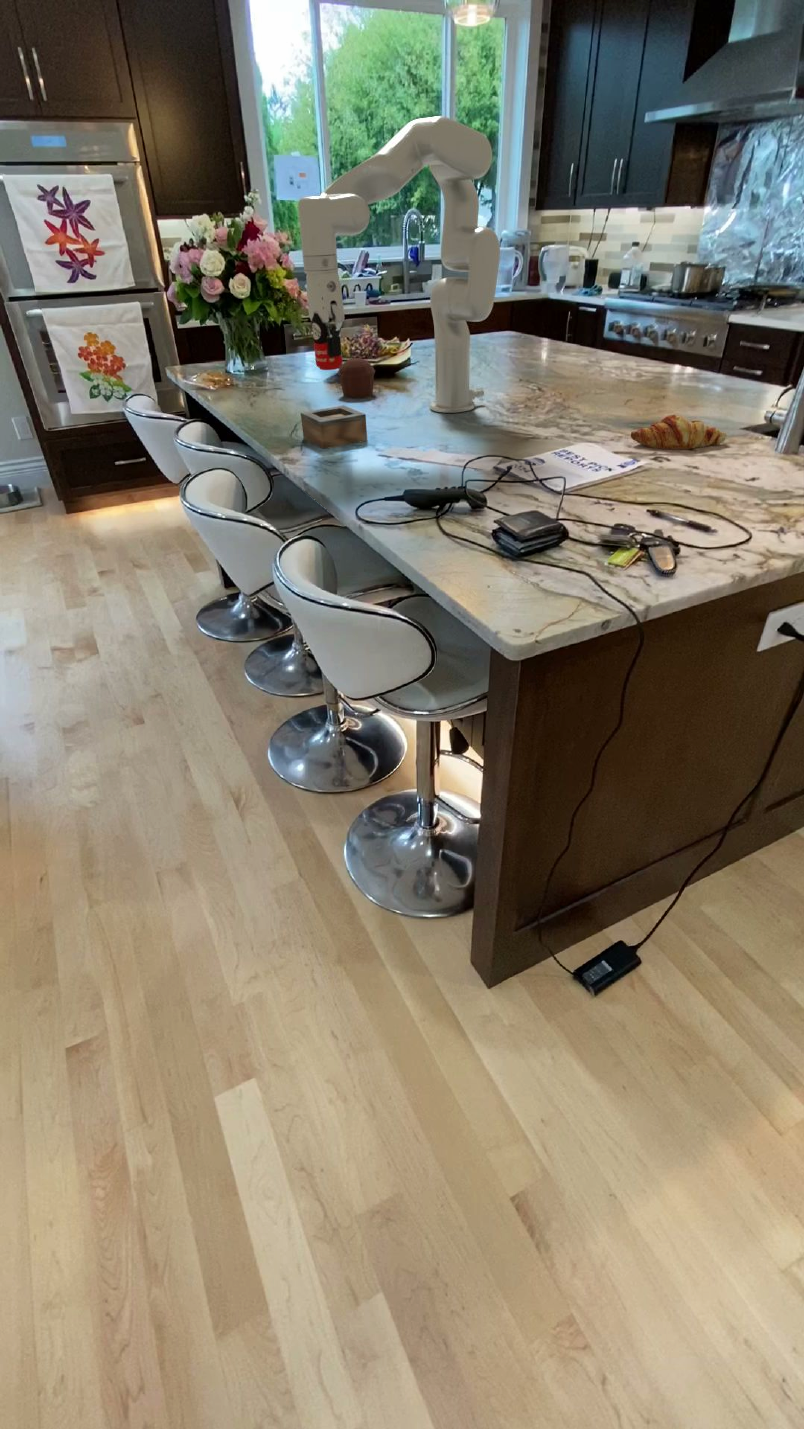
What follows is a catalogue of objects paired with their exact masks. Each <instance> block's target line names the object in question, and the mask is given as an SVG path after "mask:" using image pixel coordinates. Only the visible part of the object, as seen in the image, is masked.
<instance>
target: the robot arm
mask: <svg viewBox="0 0 804 1429" xmlns="http://www.w3.org/2000/svg"><path fill="white" fill-rule="evenodd" d="M492 149H493V148H492V146H491V143H490V141H489V139H488V138H487V136H486V135H484V133H482V132H481V131H478V130H476V129H474V128H472V127H470V126H467V125H465V124H462V122H459V121H457V120H454V119H452V118H449V117H446V116H442V115H441V116H432V117H431V116H430V117H423V118H416V119H414V120H411V121H409V122H407V123H406V124H405V125H403V127H402V128H401V129H399V131H398V132H396V134H395V135H393V137H392V138H390V139H389V140H388V141H387V142H386V143H385V144H384V145H383V146H382V147H380V149H379V150H378V151H377V152H376V153H374V154H373V155H372V156H371V157H369V158H367V159H365V160H363V161H362V162H361V163H359V164H358V165H356V166H354V167H353V168H352V169H350V170H348V171H346V172H344V174H342V175H340V176H339V177H338V178H337V179H335V180H334V181H333V182H331V184H329V185H328V186H327V187H325V189H324V190H323V191H322V192H321V193H320V194H319V196H304V197H301V198H300V199H299V200H298V202H297V213H298V221H299V230H300V232H299V233H300V240H301V241H300V242H301V253H302V262H303V264H302V265H303V273H304V274H306V297H307V298H306V299H307V300H306V301H307V310H308V317H309V319H310V321H311V323H310V325H312V318H313V315H314V312H318V315H319V317H320V318H321V320H322V322H323V323H324V324H326V329H327V334H328V337H329V338H327V348H328V356H329V357H335V356H341V349H342V340H341V341H340V337H341V336H342V332H341V331H342V325H343V322H344V321H345V309H344V300H343V293H342V292H343V291H342V286H341V282H340V276H339V266H338V264H339V263H338V254H337V238H336V237H337V236H356V235H358V234H359V235H360V234H361V233H362V232H364V231H365V230H366V229H367V227H368V225H369V223H370V218H371V212H370V206H369V205H371V204H374V203H379V202H382V201H384V200H387V199H389V198H391V197H393V196H395V195H397V193H399V192H400V191H401V190H402V189H403V188H404V187H405V186H406V184H408V183H409V182H410V181H411V180H412V179H413V178H414V177H415V176H416V175H417V174H418V173H420V171H421V170H422V169H424V168H425V167H427V166H428V168H429V171H430V172H431V174H432V176H433V178H434V179H435V180H436V183H437V184H438V186H439V188H440V190H441V193H442V196H443V201H444V202H443V204H444V210H443V212H444V213H443V224H442V232H441V233H442V235H441V236H442V237H441V245H440V246H441V247H440V261H441V263H442V265H443V266H444V268H445V269H447V270H449V271H453V272H468V277H459V276H457V277H455V276H453V277H452V276H451V277H444V278H441V279H439V280H438V281H437V282H435V284H434V285H433V287H432V289H431V292H430V298H429V302H430V309H431V315H432V320H433V326H434V327H433V328H434V332H433V333H434V384H435V385H434V386H435V387H434V390H435V393H434V394H435V400H433V401H431V403H430V404H429V409H430V410H431V411H434V412H437V413H446V414H450V413H452V414H453V413H463V412H469V411H472V410H473V409H474V408H475V406H476V403H475V401H473V400H475V399H477V398H482V397H484V396H485V391H484V389H477V390H474V389H473V388H471V387H470V378H471V377H470V376H471V375H470V374H471V372H470V371H471V370H470V369H471V333H470V330H469V326H468V324H467V322H474V323H475V322H482V321H484V320H486V319H487V318H488V317H489V315H490V314H491V312H492V310H493V307H494V303H495V297H496V292H497V291H496V289H497V283H498V282H497V281H498V275H499V268H500V259H501V247H500V246H501V245H500V240H499V238H498V236H497V234H496V232H495V231H494V230H493V229H492V228H490V227H487V226H478V224H479V210H480V204H479V203H480V200H479V195H478V192H477V189H476V187H475V185H474V182H473V180H479V179H481V178H482V177H484V176H485V175H486V174H487V173H488V172H489V169H490V168H491V166H492V162H493V150H492ZM329 319H334V321H331V322H329ZM331 325H333V326H332V329H331V328H330V326H331Z"/></svg>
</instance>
